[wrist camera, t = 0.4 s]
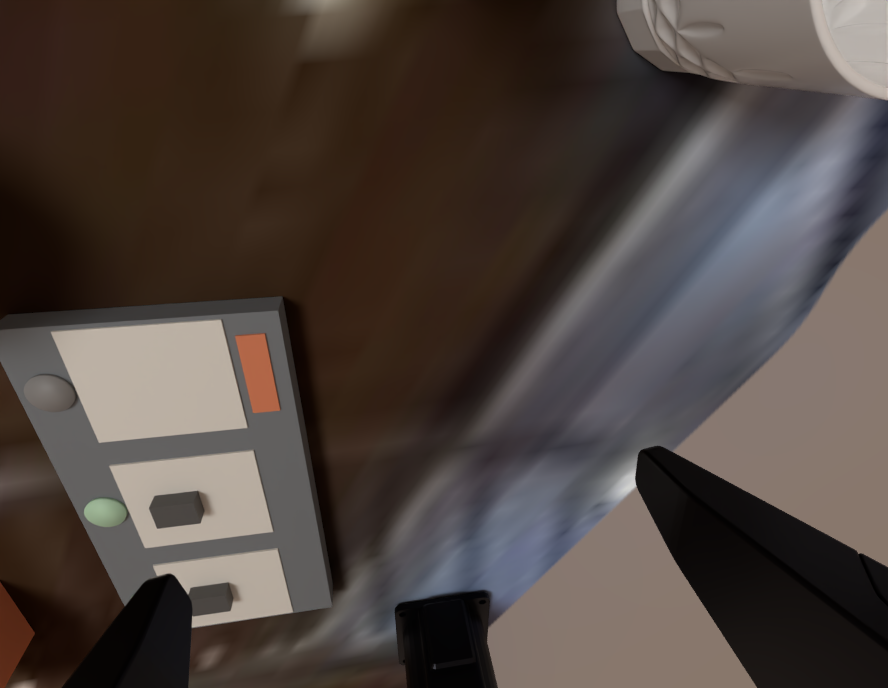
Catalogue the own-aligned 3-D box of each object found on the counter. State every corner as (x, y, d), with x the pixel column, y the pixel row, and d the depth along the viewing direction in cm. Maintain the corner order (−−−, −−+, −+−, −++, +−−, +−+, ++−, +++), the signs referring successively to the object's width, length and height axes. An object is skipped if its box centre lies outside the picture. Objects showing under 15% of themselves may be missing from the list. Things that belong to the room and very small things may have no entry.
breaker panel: (333, 584, 32) (331, 620, 30) (148, 611, 30) (133, 651, 28) (282, 296, 22) (275, 319, 20) (8, 314, 21) (-31, 341, 18)
